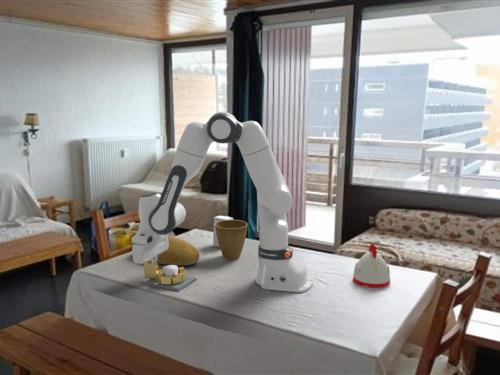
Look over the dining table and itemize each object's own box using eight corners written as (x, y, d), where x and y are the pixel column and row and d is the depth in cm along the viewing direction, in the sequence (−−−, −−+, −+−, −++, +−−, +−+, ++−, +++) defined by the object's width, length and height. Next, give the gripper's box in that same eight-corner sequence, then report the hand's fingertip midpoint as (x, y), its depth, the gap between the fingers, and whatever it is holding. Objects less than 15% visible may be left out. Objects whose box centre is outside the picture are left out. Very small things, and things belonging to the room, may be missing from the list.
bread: (184, 272, 177) (183, 249, 176) (126, 257, 195) (124, 237, 194) (210, 259, 193) (210, 238, 191) (154, 247, 211) (153, 228, 209)
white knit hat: (357, 288, 160) (359, 249, 157) (349, 274, 173) (350, 239, 171) (394, 288, 160) (396, 249, 157) (383, 274, 173) (385, 239, 171)
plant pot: (208, 257, 195) (208, 223, 193) (233, 250, 205) (233, 218, 202) (229, 265, 184) (228, 229, 182) (254, 257, 194) (254, 223, 192)
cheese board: (188, 274, 170) (188, 259, 169) (180, 285, 160) (179, 269, 159) (150, 272, 173) (150, 258, 172) (139, 282, 162) (139, 267, 161)
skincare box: (213, 246, 212) (212, 217, 209) (219, 243, 217) (218, 214, 214) (227, 248, 208) (227, 219, 205) (233, 245, 213) (233, 216, 211)
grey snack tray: (196, 280, 168) (196, 265, 167) (178, 291, 157) (178, 276, 156) (163, 273, 175) (163, 259, 174) (144, 284, 164) (143, 269, 163)
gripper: (158, 226, 177) (159, 258, 179) (128, 239, 158) (130, 275, 161) (171, 228, 175) (172, 260, 177) (143, 241, 156) (144, 277, 158)
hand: (152, 267), depth 169 cm, fingers closed
